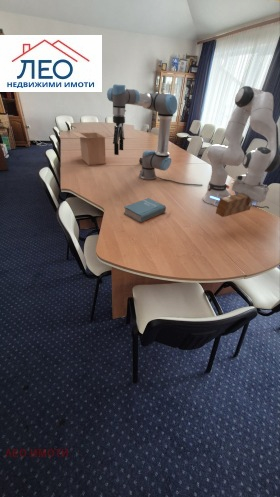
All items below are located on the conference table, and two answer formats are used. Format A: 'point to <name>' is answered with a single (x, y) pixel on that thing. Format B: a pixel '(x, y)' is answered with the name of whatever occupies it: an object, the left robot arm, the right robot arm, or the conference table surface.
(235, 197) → the bar
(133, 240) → the conference table surface
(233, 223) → the conference table surface
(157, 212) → the book
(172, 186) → the conference table surface
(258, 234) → the conference table surface
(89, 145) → the box
